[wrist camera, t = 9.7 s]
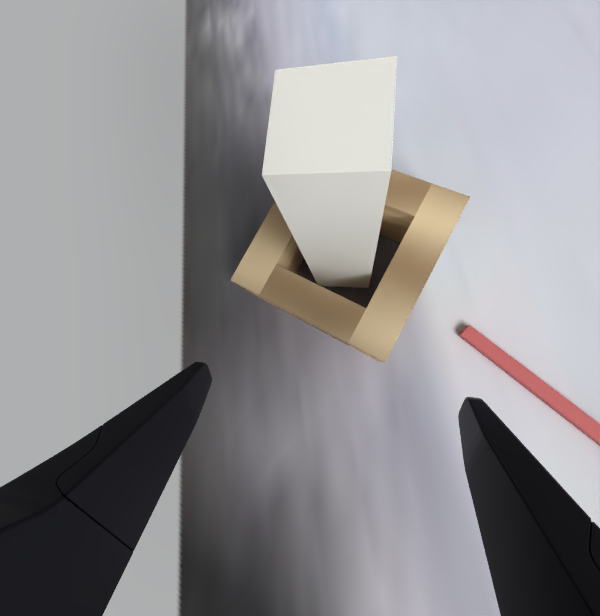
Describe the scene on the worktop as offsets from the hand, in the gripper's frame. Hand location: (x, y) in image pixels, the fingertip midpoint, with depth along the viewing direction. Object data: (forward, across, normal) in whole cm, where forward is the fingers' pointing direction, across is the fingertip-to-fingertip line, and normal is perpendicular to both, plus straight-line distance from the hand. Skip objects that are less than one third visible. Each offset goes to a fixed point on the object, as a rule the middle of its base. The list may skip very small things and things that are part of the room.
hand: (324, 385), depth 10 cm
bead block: (+12, 0, +1) cm, 12 cm away
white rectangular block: (+12, 0, +1) cm, 12 cm away
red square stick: (+6, -13, +7) cm, 16 cm away
